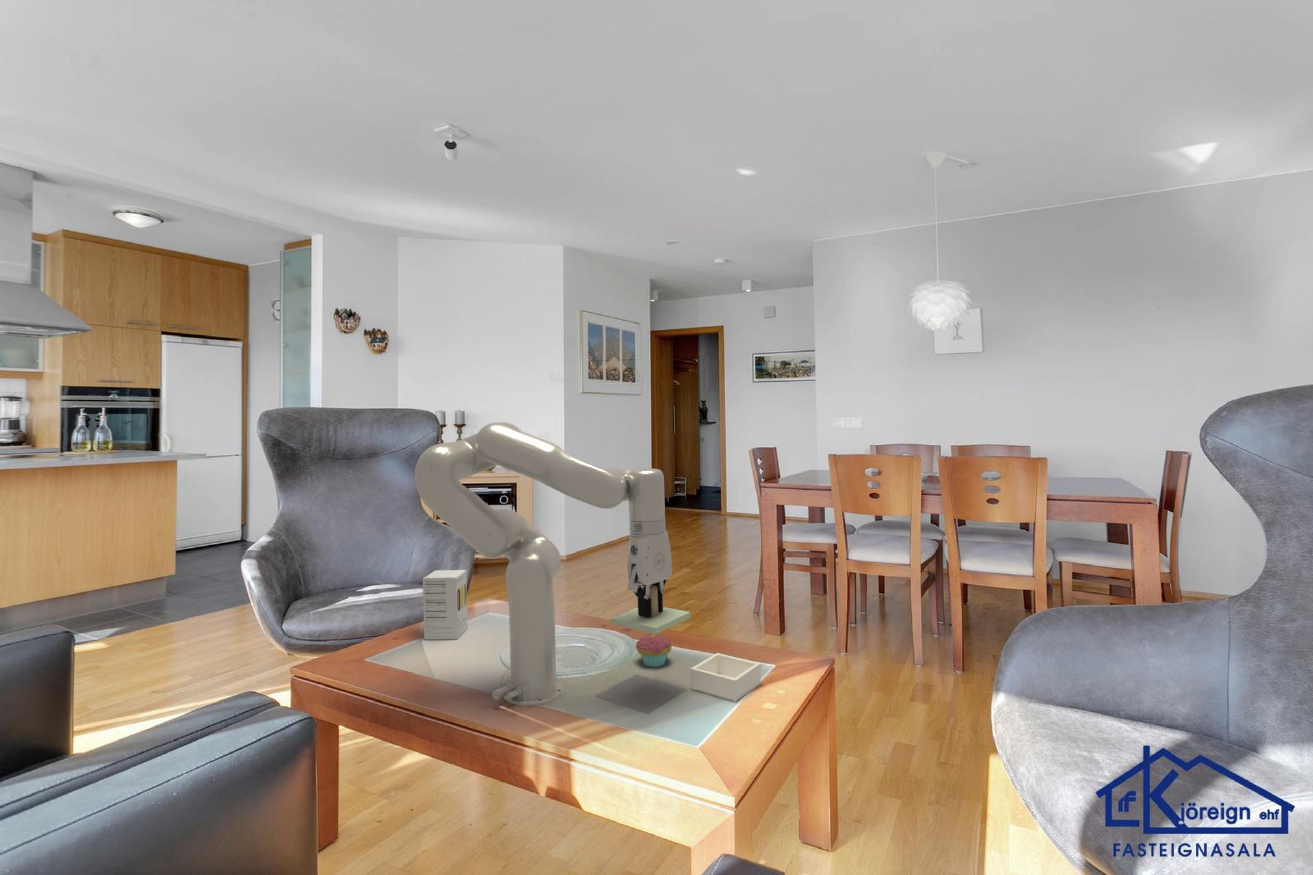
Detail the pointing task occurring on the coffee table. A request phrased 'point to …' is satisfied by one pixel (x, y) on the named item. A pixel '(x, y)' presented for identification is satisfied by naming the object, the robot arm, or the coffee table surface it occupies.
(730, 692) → the white square box
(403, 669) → the coffee table surface
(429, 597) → the supplement box
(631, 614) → the lid
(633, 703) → the mat
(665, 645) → the cupcake
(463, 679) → the coffee table surface
